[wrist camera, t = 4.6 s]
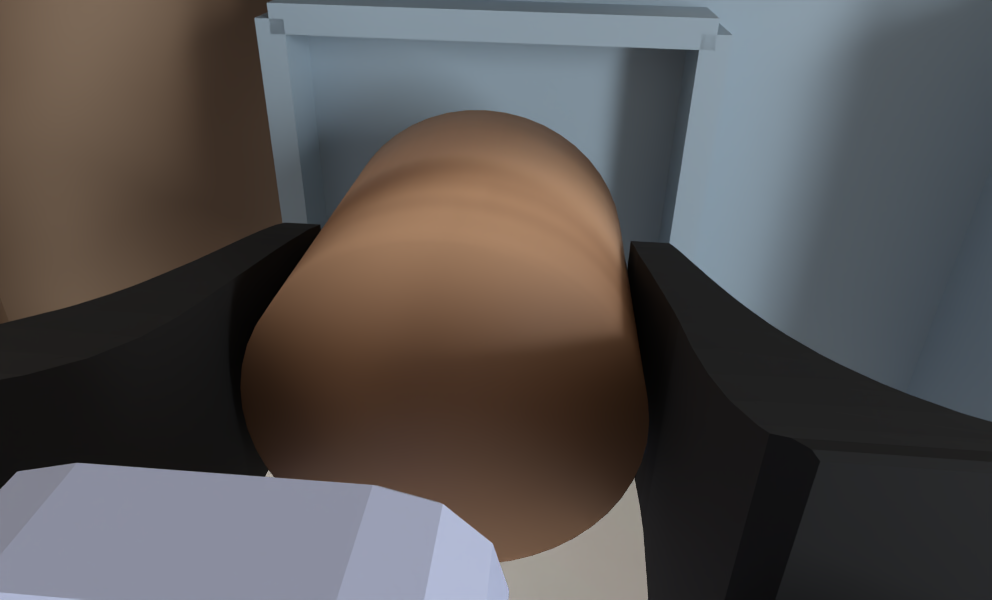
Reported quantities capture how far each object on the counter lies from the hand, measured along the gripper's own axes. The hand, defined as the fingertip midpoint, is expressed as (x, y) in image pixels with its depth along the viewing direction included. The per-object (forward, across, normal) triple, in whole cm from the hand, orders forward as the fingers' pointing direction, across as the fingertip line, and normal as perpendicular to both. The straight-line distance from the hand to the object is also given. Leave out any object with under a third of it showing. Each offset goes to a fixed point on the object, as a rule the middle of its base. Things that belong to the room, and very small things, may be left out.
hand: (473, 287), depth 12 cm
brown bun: (+1, 0, 0) cm, 1 cm away
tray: (+4, -3, 0) cm, 5 cm away
